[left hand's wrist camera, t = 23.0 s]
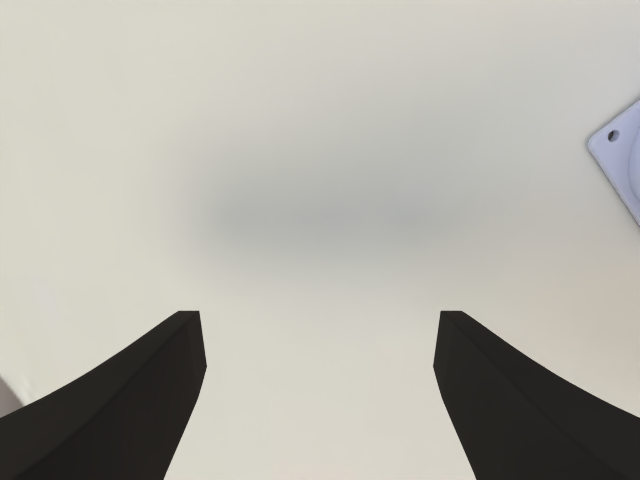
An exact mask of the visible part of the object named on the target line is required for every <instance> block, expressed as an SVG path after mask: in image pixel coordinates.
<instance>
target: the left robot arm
mask: <svg viewBox="0 0 640 480" xmlns="http://www.w3.org/2000/svg"><path fill="white" fill-rule="evenodd" d="M611 131H613V137H612V138H611V139H610V140H608V135H609V133H610V132H611ZM588 147H589V150H590V151H591V153H592V154H593V156H594V158H595V159H596V161H597V162H598V164H599V165H600V167H601V168H602V170H603V171H604V173H605V174H606V176H607V177H608V179H609V180H610V182H611V183H612V185H613V186H614V188H615V189H616V191H617V192H618V194H619V195H620V197H621V198H622V200H623V202H624V203H625V205H626V206H627V208H628V209H629V211H630V212H631V214H632V215H633V217H634V218H635V220H636V221H637V223H638V224H639V226H640V99H639V100H638V101H637V102H636V103H634V104H633V105H632V106H630V107H629V108H628V109H626V110H625V111H624V112H623V113H621V114H620V115H619V116H617V117H616V118H615V119H614V120H612V121H611V122H610V123H608V124H607V125H606V126H604V127H603V128H602V129H601V130H599V131H598V132H597V133H595V134H594V135H593V136H592V137H591V138H590V140H589V143H588ZM206 368H207V364H206V357H205V349H204V342H203V335H202V328H201V320H200V313H199V311H178V312H176V313H174V314H173V315H171V316H170V317H168V318H167V319H166V320H164V321H163V322H161V323H160V324H159V325H157V326H156V327H154V328H153V329H152V330H150V331H149V332H147V333H146V334H145V335H143V336H142V337H140V338H139V339H138V340H136V341H135V342H133V343H132V344H130V345H129V346H128V347H126V348H125V349H123V350H122V351H120V352H119V353H117V354H116V355H114V356H112V357H111V358H109V359H108V360H106V361H105V362H103V363H102V364H100V365H99V366H97V367H96V368H94V369H92V370H91V371H89V372H88V373H86V374H84V375H83V376H81V377H79V378H78V379H76V380H74V381H72V382H71V383H69V384H67V385H65V386H63V387H62V388H60V389H58V390H56V391H54V392H52V393H51V394H49V395H47V396H45V397H43V398H41V399H39V400H37V401H35V402H33V403H31V404H29V405H27V406H24V407H22V408H20V409H18V410H16V411H14V412H12V413H10V414H8V415H6V416H4V417H1V418H0V480H164V477H165V475H166V472H167V470H168V467H169V465H170V463H171V460H172V458H173V456H174V453H175V451H176V449H177V446H178V444H179V442H180V439H181V437H182V435H183V433H184V430H185V428H186V426H187V423H188V421H189V418H190V416H191V414H192V411H193V409H194V407H195V404H196V402H197V399H198V396H199V393H200V390H201V386H202V383H203V379H204V375H205V372H206ZM433 368H434V372H435V375H436V379H437V383H438V386H439V390H440V393H441V396H442V399H443V402H444V404H445V407H446V409H447V411H448V414H449V416H450V418H451V421H452V423H453V426H454V428H455V430H456V433H457V435H458V437H459V439H460V442H461V444H462V446H463V449H464V451H465V453H466V456H467V458H468V460H469V463H470V465H471V467H472V470H473V472H474V475H475V477H476V480H640V418H639V417H637V416H635V415H632V414H630V413H628V412H626V411H624V410H622V409H620V408H617V407H615V406H613V405H611V404H609V403H607V402H605V401H603V400H601V399H599V398H597V397H596V396H594V395H592V394H590V393H588V392H586V391H584V390H583V389H581V388H579V387H577V386H575V385H573V384H572V383H570V382H568V381H566V380H565V379H563V378H561V377H559V376H558V375H556V374H554V373H553V372H551V371H550V370H548V369H546V368H545V367H543V366H542V365H540V364H538V363H537V362H535V361H534V360H532V359H531V358H529V357H527V356H526V355H524V354H523V353H521V352H520V351H519V350H517V349H516V348H514V347H513V346H511V345H510V344H508V343H507V342H505V341H504V340H503V339H501V338H500V337H498V336H497V335H496V334H494V333H493V332H491V331H490V330H489V329H487V328H486V327H484V326H483V325H482V324H480V323H479V322H477V321H476V320H475V319H473V318H472V317H470V316H469V315H467V314H466V313H464V312H462V311H441V313H440V320H439V328H438V335H437V342H436V349H435V357H434V364H433Z"/></svg>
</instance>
